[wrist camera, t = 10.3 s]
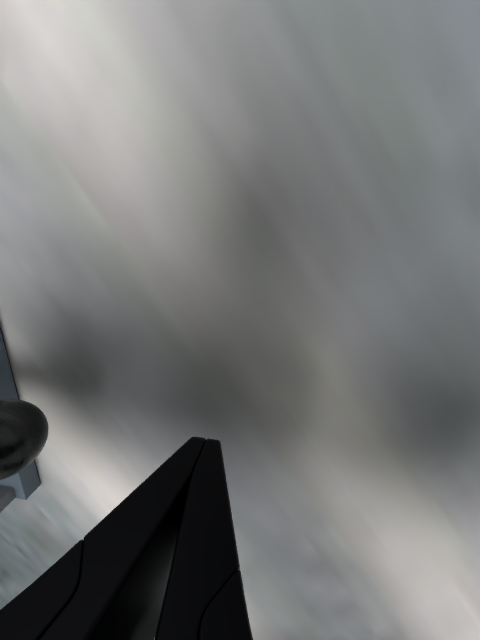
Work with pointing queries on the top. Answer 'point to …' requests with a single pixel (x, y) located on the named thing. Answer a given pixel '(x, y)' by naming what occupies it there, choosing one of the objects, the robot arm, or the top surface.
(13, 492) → the vise base
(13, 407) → the sliding jaw
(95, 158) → the top surface
